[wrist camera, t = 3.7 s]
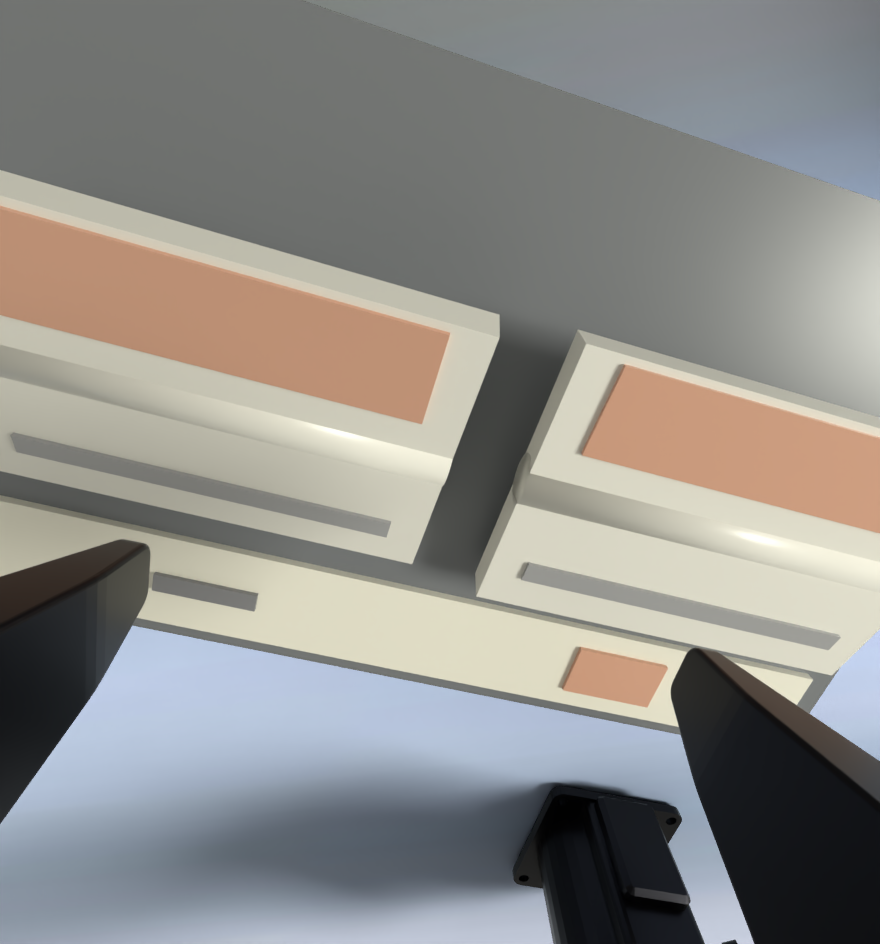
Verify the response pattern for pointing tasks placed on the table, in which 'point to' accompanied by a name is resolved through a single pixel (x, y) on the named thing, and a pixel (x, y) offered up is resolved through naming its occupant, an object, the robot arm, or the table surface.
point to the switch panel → (439, 274)
